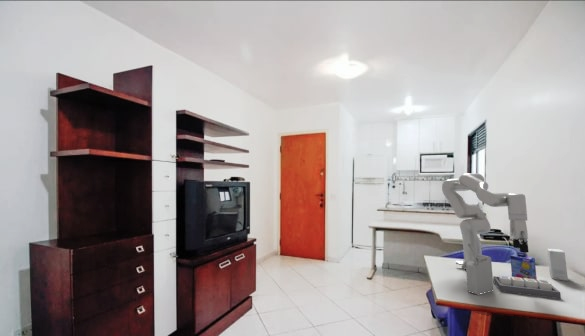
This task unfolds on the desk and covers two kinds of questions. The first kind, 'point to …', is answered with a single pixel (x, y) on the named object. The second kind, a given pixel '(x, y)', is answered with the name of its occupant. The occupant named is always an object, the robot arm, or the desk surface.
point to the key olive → (530, 283)
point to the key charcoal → (544, 284)
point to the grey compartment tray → (527, 290)
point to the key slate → (505, 280)
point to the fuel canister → (479, 273)
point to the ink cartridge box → (523, 266)
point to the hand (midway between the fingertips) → (520, 249)
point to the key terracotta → (517, 281)
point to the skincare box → (557, 264)
